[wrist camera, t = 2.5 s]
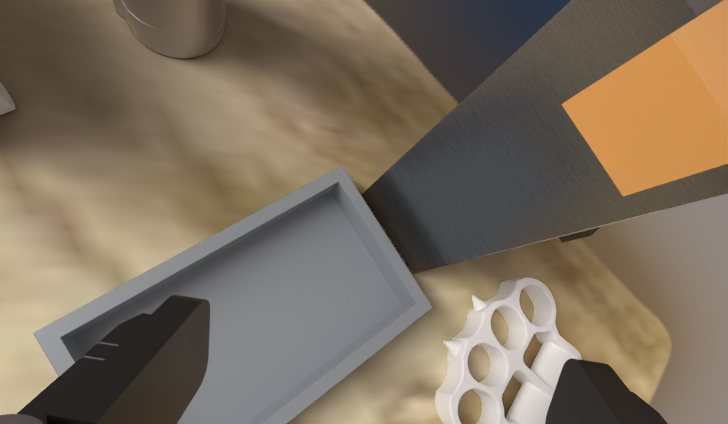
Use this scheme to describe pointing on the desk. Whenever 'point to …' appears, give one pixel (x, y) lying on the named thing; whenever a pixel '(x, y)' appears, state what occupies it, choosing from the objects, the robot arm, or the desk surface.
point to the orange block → (661, 108)
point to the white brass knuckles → (507, 357)
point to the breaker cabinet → (530, 146)
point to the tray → (270, 304)
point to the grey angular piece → (5, 101)
